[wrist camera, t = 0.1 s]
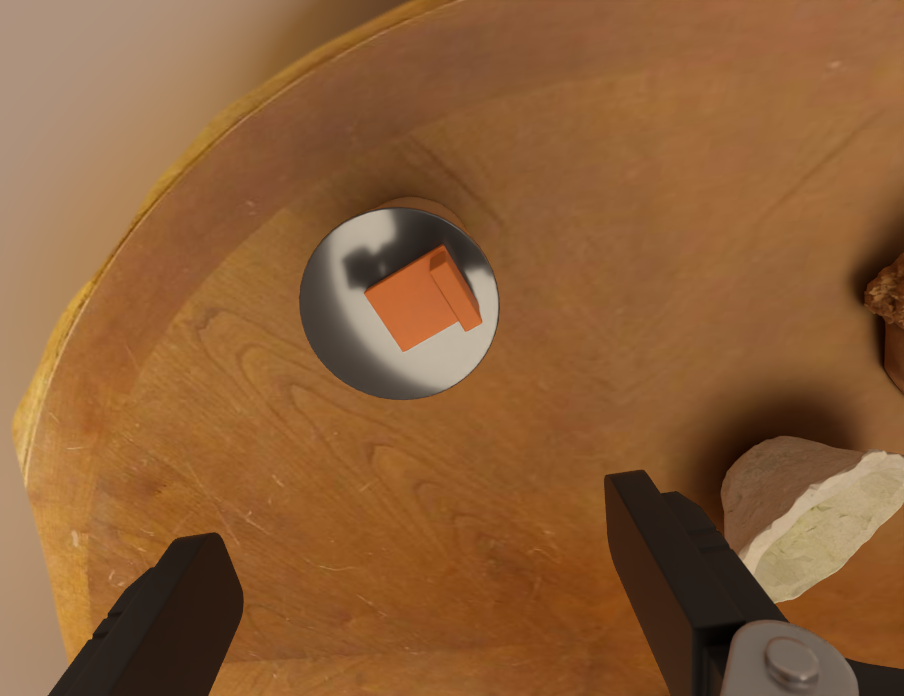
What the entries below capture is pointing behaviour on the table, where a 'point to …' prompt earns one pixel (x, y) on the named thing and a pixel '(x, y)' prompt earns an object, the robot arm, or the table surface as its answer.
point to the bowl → (806, 509)
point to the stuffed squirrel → (890, 315)
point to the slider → (424, 299)
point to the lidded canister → (356, 322)
